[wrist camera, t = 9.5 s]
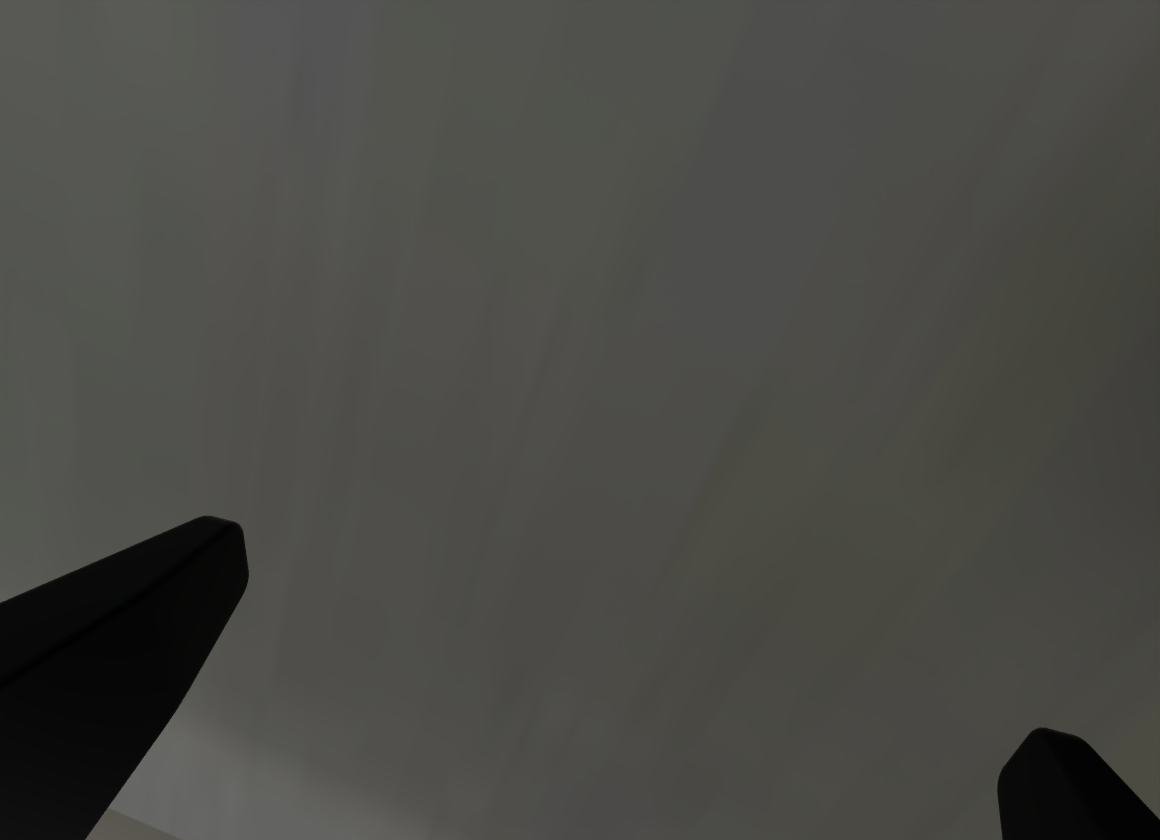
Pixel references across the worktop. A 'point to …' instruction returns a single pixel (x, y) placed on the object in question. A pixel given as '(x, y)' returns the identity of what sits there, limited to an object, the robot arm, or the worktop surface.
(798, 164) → the worktop surface
